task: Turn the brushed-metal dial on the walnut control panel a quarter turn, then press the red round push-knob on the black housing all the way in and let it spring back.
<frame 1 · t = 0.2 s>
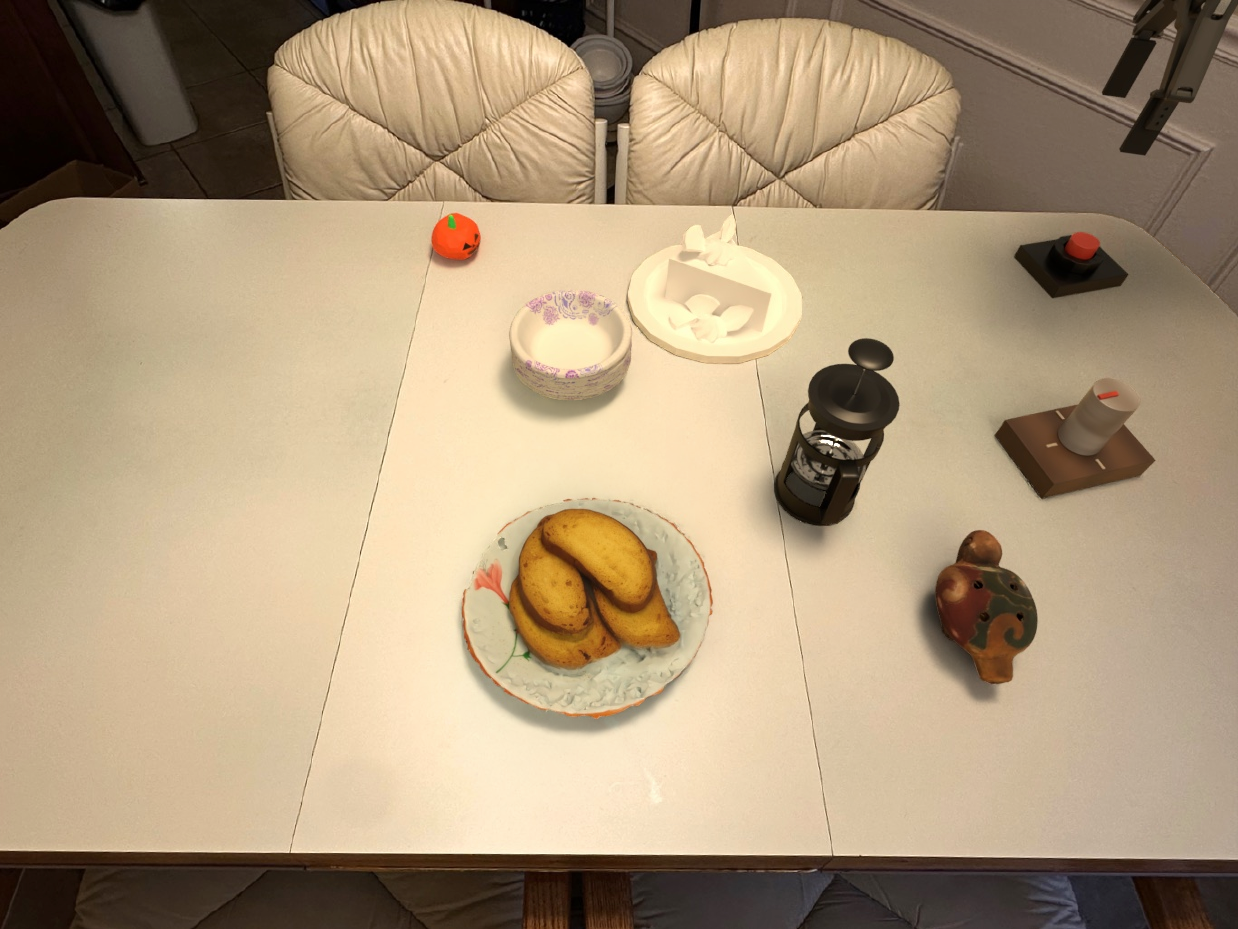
hand: (1122, 122, 89), 26 cm above the table, tool pointing down, fingers open, 13 cm apart
pumpkin: (458, 252, 113), on the table
button housing: (1066, 271, 113), on the table
dial panel: (1066, 454, 92), on the table
dish: (713, 303, 107), on the table
french press: (814, 497, 87), on the table
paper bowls: (572, 374, 98), on the table
dial: (1098, 416, 86), point 7 cm above the table, hinge at 0.0°
food on plate: (588, 606, 78), on the table
painted clay ocarina: (968, 624, 78), on the table
push knob: (1082, 245, 110), point 5 cm above the table, slide at 0.1 cm
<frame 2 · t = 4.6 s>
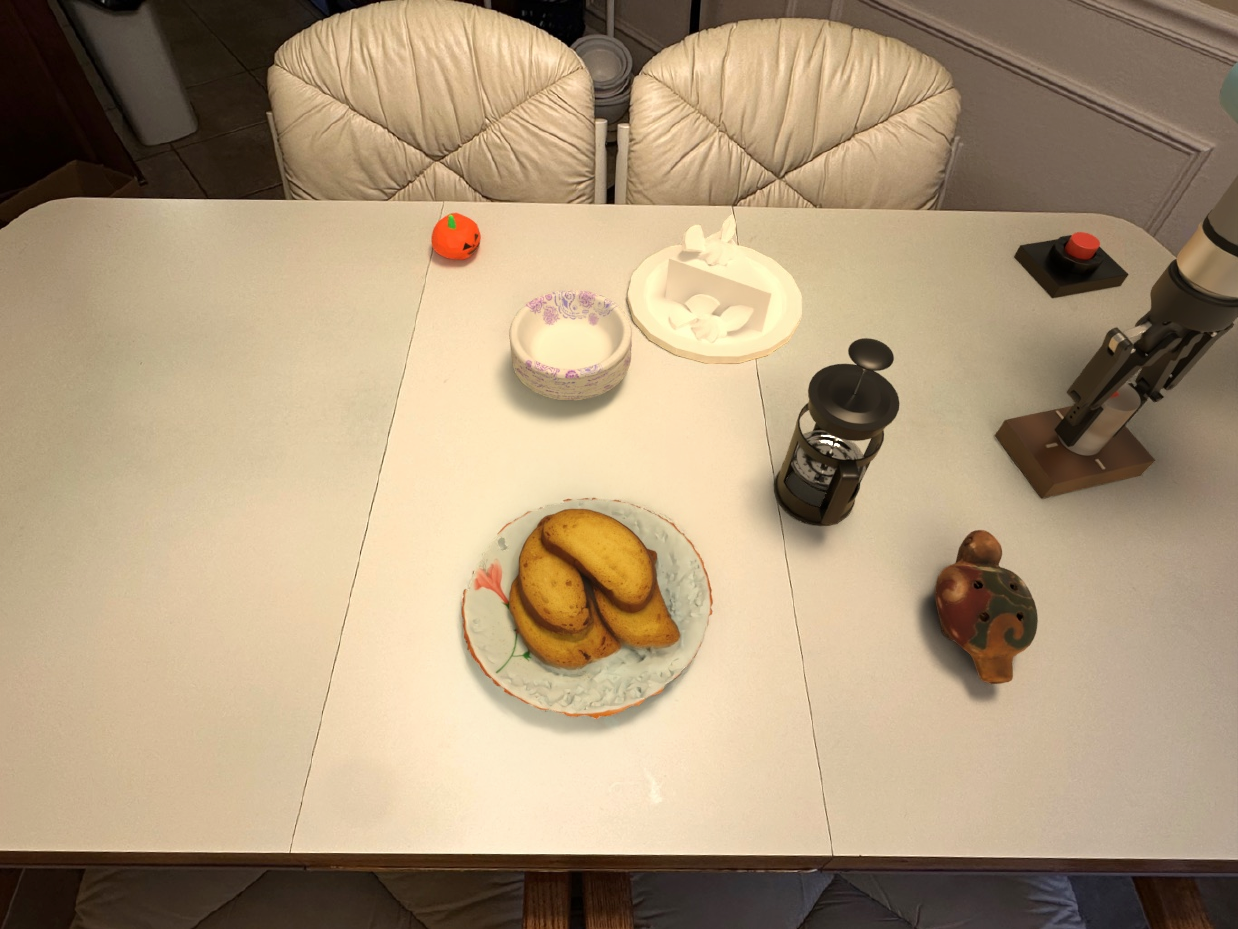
hand: (1084, 432, 88), 4 cm above the table, tool pointing down, fingers closed on dial, 5 cm apart
dial: (1098, 416, 86), point 7 cm above the table, hinge at 0.0°, touching gripper
everything else where it was.
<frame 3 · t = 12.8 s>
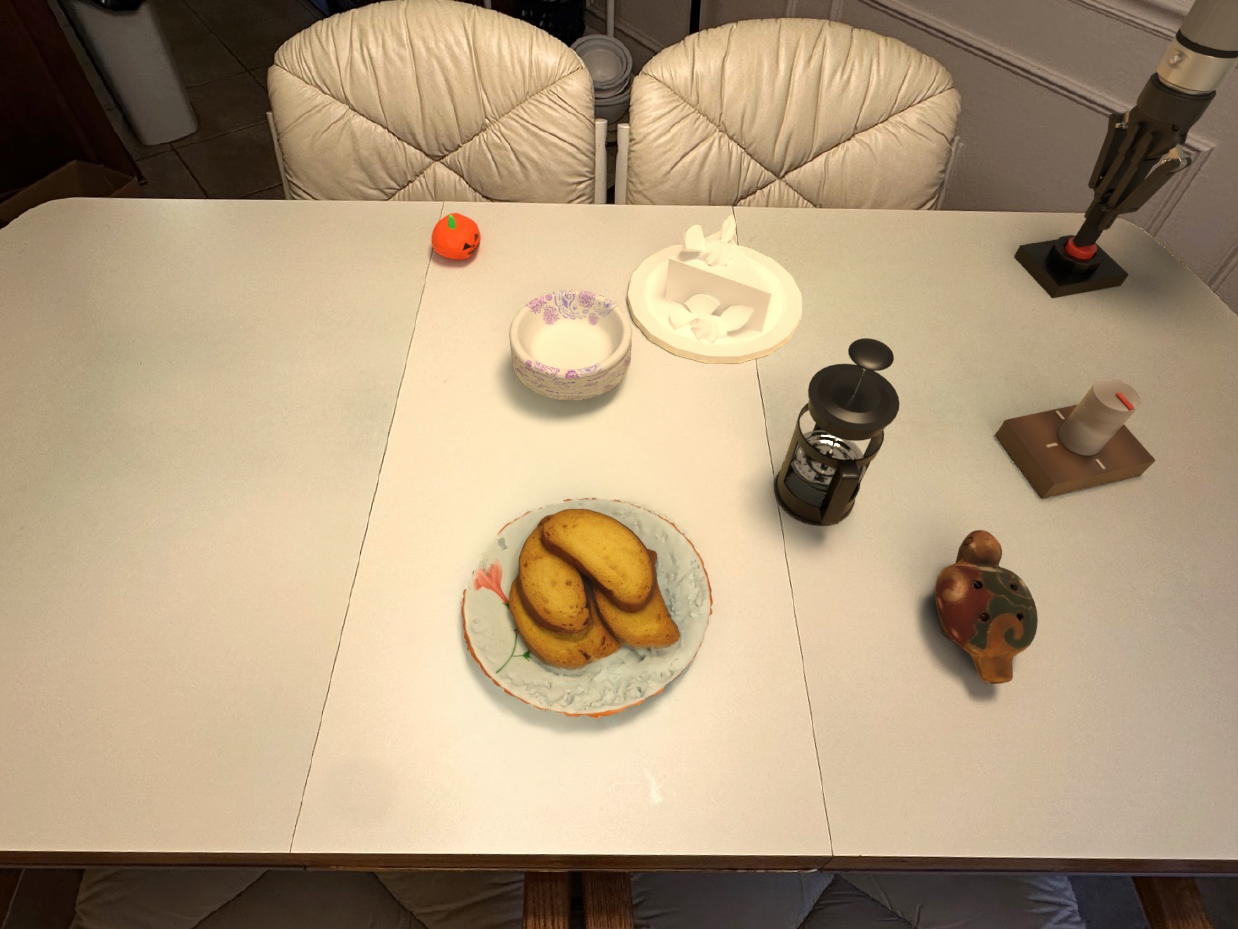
hand: (1083, 242, 109), 5 cm above the table, tool pointing down, fingers closed
dial: (1098, 416, 86), point 7 cm above the table, hinge at 90.1°
push knob: (1079, 250, 110), point 4 cm above the table, slide at -0.7 cm, touching gripper
everything else where it was.
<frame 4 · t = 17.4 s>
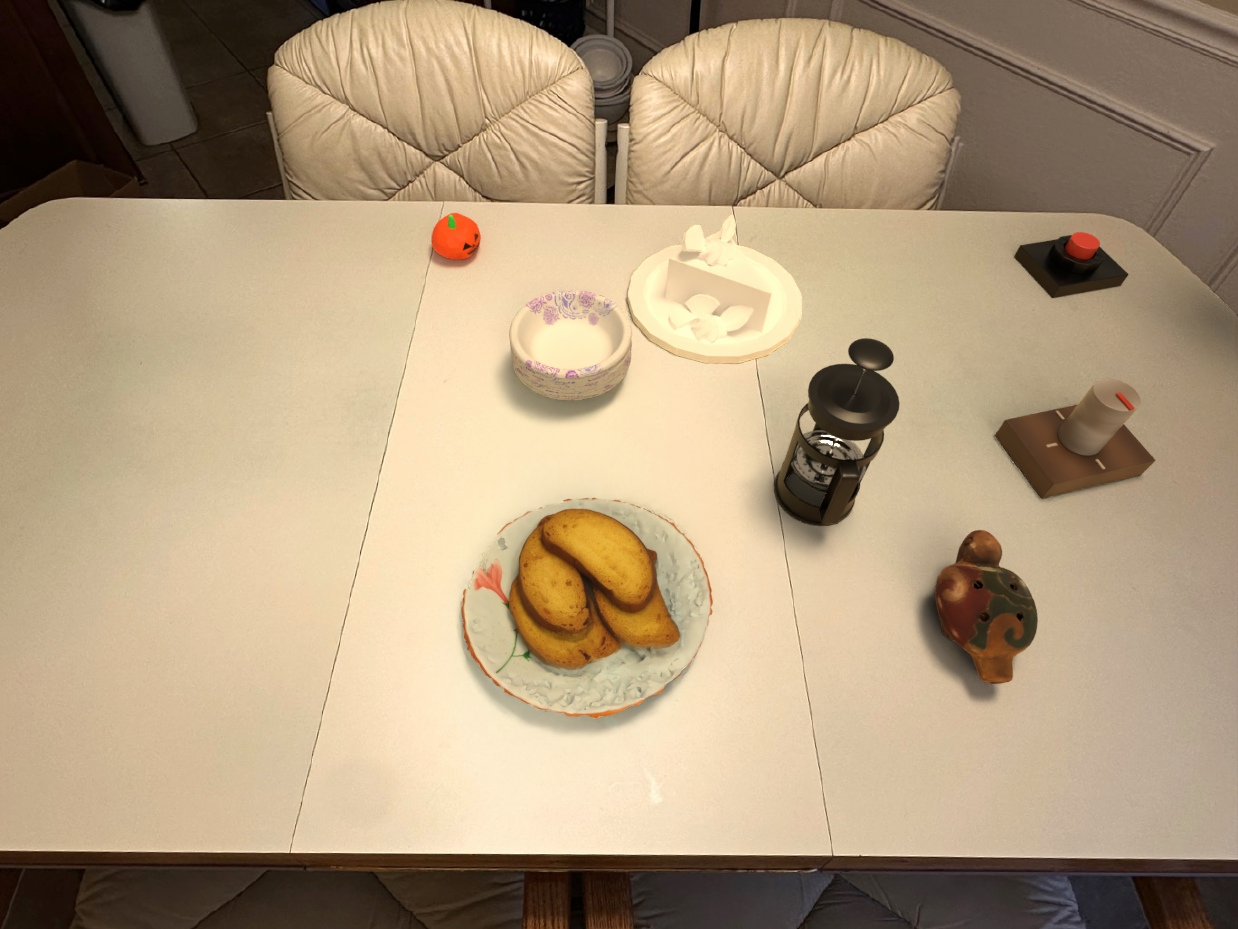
push knob: (1082, 245, 110), point 5 cm above the table, slide at 0.1 cm
everything else where it was.
at the end: dial at +90° (first picture: +0°); push knob pushed in 1.0 cm at the most during the clip, back to where it started at the end; push knob slide at 0.1 cm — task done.
